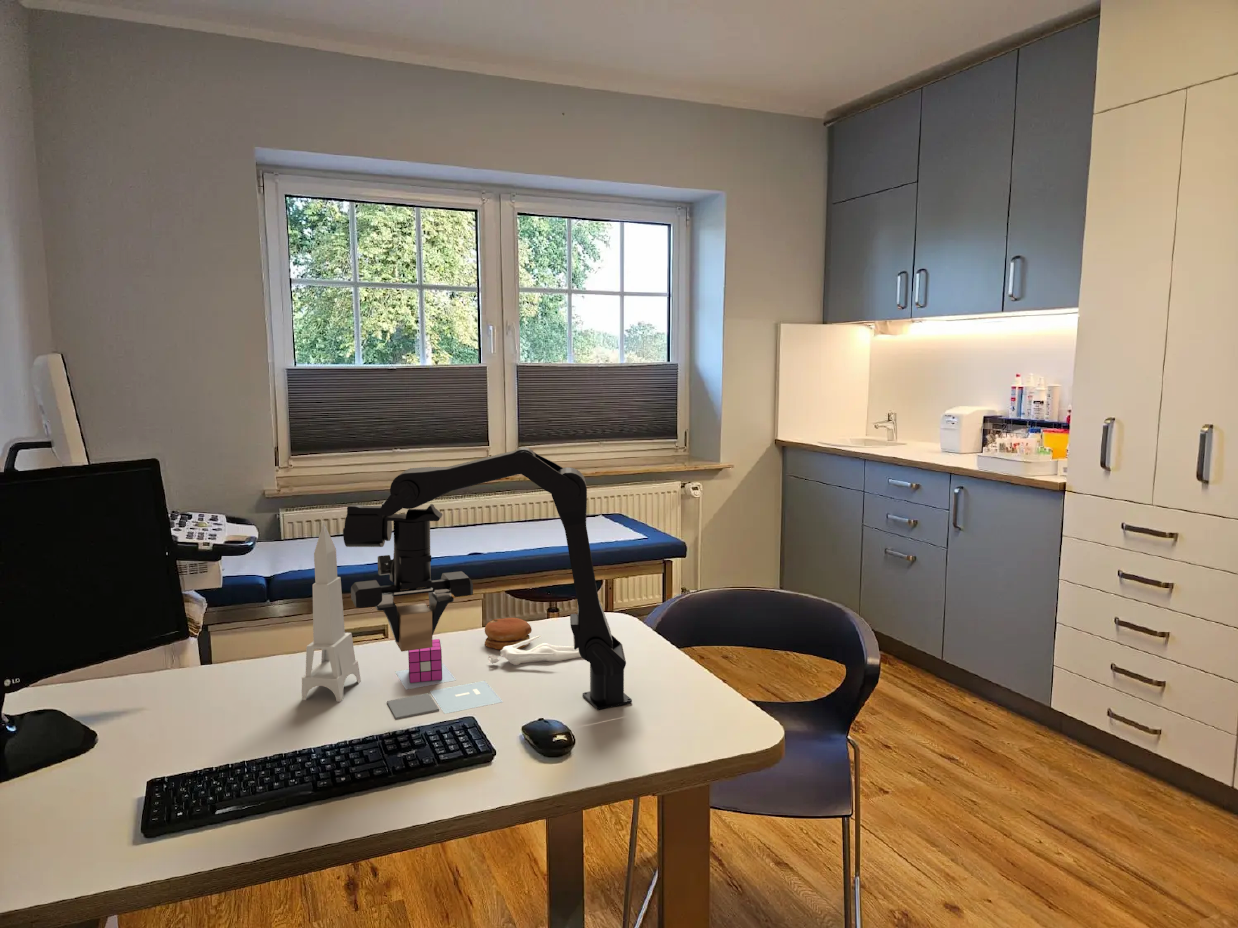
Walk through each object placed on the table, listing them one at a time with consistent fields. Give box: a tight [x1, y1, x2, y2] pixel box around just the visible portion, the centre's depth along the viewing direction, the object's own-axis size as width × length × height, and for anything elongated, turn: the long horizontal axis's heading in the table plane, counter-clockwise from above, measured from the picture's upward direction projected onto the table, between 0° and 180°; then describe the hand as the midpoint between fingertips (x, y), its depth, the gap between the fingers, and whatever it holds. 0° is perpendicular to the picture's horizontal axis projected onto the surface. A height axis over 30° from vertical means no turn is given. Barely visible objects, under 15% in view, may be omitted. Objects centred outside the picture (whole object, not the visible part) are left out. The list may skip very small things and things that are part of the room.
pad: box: [386, 692, 440, 720], centre depth 134 cm, size 7×7×1 cm
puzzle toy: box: [407, 638, 443, 683], centre depth 147 cm, size 6×6×6 cm
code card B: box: [395, 662, 457, 691], centre depth 147 cm, size 9×9×1 cm
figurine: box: [487, 635, 582, 666], centre depth 156 cm, size 10×4×25 cm
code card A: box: [429, 680, 504, 715], centre depth 138 cm, size 10×10×1 cm
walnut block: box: [394, 602, 433, 653], centre depth 133 cm, size 5×5×6 cm
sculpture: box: [301, 522, 362, 703], centre depth 139 cm, size 7×8×30 cm
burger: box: [484, 617, 533, 651], centre depth 164 cm, size 10×9×5 cm
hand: (413, 639), depth 133 cm, fingers closed on walnut block, 5 cm apart
